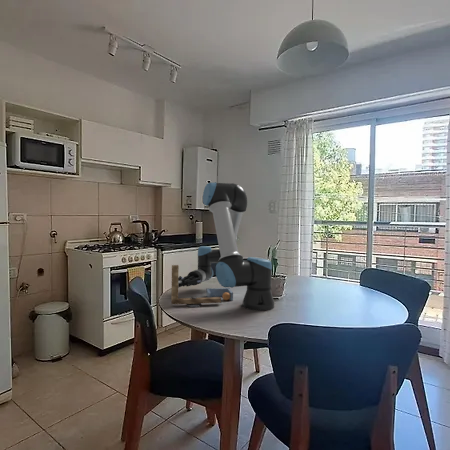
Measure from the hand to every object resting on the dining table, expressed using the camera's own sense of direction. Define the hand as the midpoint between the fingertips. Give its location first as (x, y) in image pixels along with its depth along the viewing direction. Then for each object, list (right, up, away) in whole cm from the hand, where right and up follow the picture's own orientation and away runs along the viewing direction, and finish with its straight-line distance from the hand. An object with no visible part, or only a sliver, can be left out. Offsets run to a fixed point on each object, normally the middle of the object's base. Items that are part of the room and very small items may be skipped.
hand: (173, 286), depth 163 cm
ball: (+26, -8, +12) cm, 29 cm away
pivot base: (+10, -9, 0) cm, 13 cm away
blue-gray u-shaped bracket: (+22, -9, +14) cm, 27 cm away
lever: (+11, -8, 0) cm, 13 cm away
